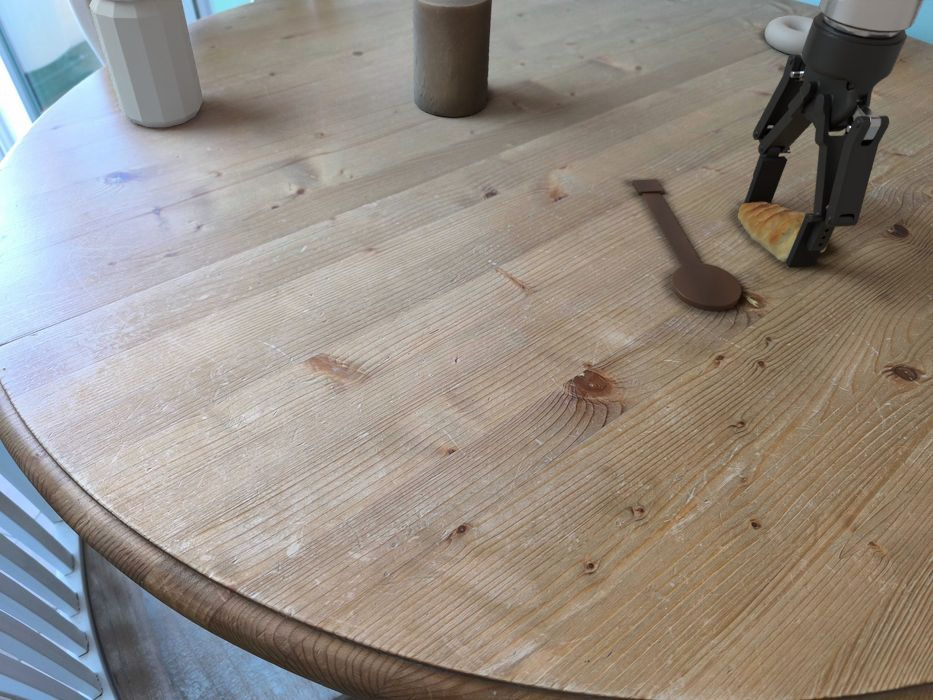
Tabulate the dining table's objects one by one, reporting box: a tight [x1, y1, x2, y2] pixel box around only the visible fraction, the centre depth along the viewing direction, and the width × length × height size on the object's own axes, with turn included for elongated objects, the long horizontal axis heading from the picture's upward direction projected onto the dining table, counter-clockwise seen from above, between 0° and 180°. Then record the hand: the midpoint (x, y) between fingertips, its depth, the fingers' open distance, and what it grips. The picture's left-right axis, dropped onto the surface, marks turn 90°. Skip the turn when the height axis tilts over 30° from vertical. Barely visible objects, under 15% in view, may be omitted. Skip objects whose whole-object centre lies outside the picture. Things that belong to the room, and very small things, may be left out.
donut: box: [764, 15, 814, 55], centre depth 115 cm, size 10×3×10 cm
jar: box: [88, 0, 204, 128], centre depth 87 cm, size 10×10×18 cm
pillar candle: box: [412, 0, 493, 118], centre depth 93 cm, size 10×10×15 cm
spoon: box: [631, 178, 742, 312], centre depth 76 cm, size 6×22×2 cm, turn 8°
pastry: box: [737, 201, 828, 263], centre depth 77 cm, size 9×7×4 cm
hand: (774, 239), depth 78 cm, fingers closed on pastry, 10 cm apart
